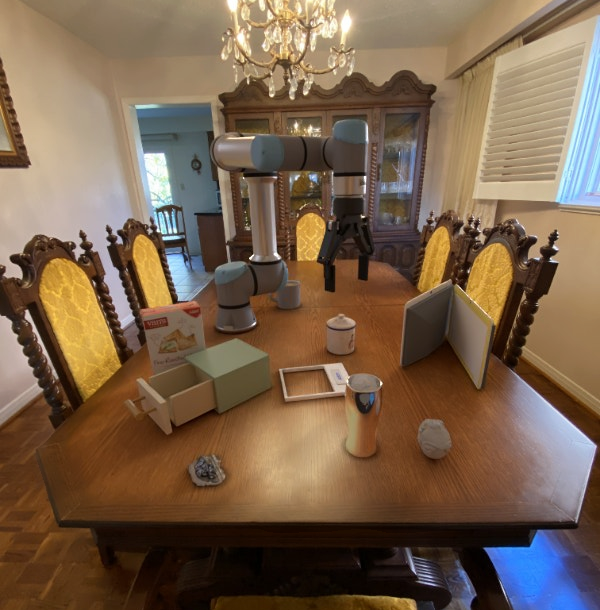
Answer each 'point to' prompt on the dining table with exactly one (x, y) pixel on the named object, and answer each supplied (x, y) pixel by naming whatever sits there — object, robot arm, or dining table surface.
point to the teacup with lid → (340, 335)
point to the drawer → (174, 396)
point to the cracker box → (173, 334)
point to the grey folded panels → (462, 329)
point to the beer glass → (362, 413)
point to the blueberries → (206, 470)
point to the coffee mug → (288, 295)
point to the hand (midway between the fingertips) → (347, 285)
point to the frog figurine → (434, 438)
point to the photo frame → (334, 374)
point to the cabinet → (234, 371)
